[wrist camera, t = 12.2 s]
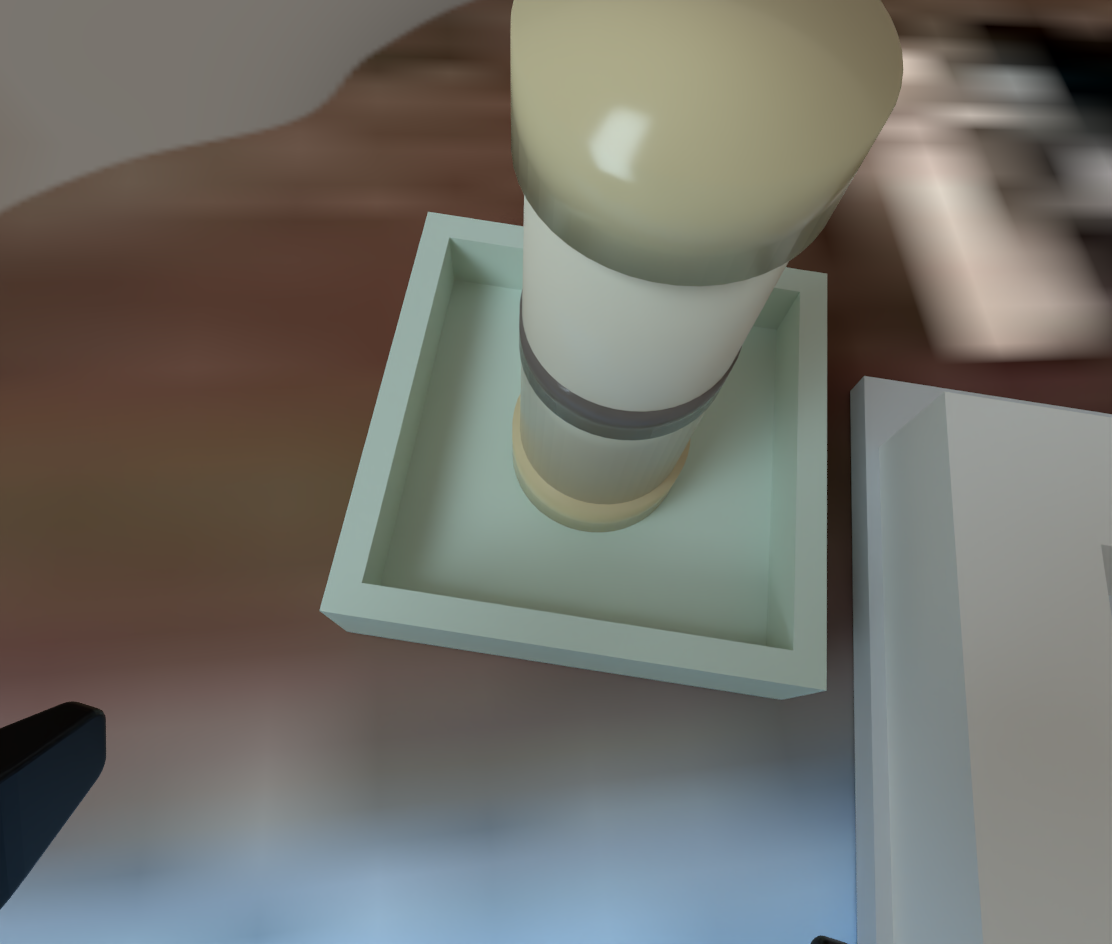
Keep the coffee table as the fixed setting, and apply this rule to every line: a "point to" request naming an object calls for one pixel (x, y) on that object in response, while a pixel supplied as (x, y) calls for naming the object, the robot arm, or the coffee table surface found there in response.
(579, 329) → the cream rounded cylinder
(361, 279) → the coffee table surface
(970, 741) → the grey block with recess
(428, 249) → the parts tray
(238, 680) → the coffee table surface
